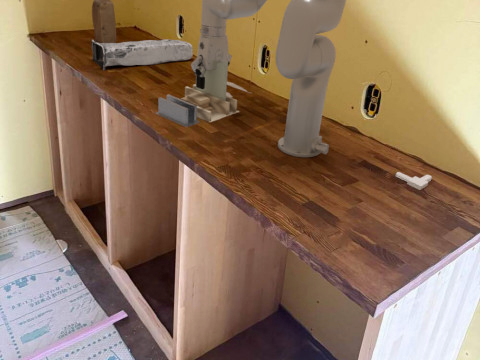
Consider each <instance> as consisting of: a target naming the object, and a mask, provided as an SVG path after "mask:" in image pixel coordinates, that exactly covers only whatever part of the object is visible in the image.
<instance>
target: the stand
mask: <svg viewBox="0 0 480 360" xmlns="http://www.w3.org/2000/svg"><path fill="white" fill-rule="evenodd" d="M166 95H167V97H166V98H163V97H161V96H160V97H158V98H157V99H158V103H157V104H158V107H157V108H158V111H157V112H156V111H155V113H154V114H156V115H158V116H159V117H162V118H165V119H166V120H169V121H171V122H174V123H175V124H177V125H178V124H179V125H180V126H182V127H185V128H188V127H191V126H194V125H196V124H199V123H200V120H197V118H198V117H197V106H196V105H194V104H191V103H189V102H186V101H184V100H181V98H179V97H176V96H173V95H172V94H166Z"/></svg>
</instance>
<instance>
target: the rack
mask: <svg viewBox="0 0 480 360" xmlns="http://www.w3.org/2000/svg"><path fill="white" fill-rule="evenodd" d="M194 93H198V94H200V95H203V96H206V97H208V98H210V103H209V105H208V106H209V107H212V108H213V112H212V113H211V111H208V110H206V109H203V108H201V107H198V106H197V118H199V119H200V120H203V121H206V122H208V123H212V122H216V121H218V120H221V119H223V118H225V117H229V116H232V115H234V114H237V113H240V112H241V111H240V110H237V109H238V100H237V99H235V98H233V97H231V98H230V97H228V96H226V101H224V100H222V99H219V98H216V97H214V96H211V95H209V94H206V93H203V92H201V91H198V90H196V83H195V84H192V87H189V86H185V87H184V97H187V95H191V94H194ZM167 95H168V94H166V98H167Z"/></svg>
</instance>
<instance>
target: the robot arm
mask: <svg viewBox="0 0 480 360" xmlns="http://www.w3.org/2000/svg"><path fill="white" fill-rule="evenodd" d="M267 1H268V0H201V23H200V24H201V25H200V29H199V32H200V36H199V40H198V45H197V53H196V59H194V60H193V61H192V62H191V64H190V66H191V69H192V72H193V73H194V75H195V76H196V77H195V85H196V87H197V88H200V89H204V88H205V77H204V74H205V73H206V71H207V70H208V71H211V70H215V69H217V62H223V63H227V64H228V67H229V66H230V64H231V63H230V62H231V59H232V57H233V56H232V55H231V54H230V53H229V40H228V39H229V38H228V35H227V33H226V32H227V20H235V19H241V18H248V17H251V16H254V15H255V14H257V13H258V12H259V11H260V10H261V9H262V7H263V6H264V5H265V3H267ZM346 2H347V0H290V1H289V3H288V4H287V6H286V7H285V9H284V10H285V11H284V13H283V17H282V21H281V25H280V31H279V35H278V41H277V45H276V50H275V65H276V68H277V71H278V73H280V75H281V76H282V77H283V78H286V79H288V80H292V82H291V86H290V89H289V90H290V91H289V99H288V106H287V113H286V114H287V115H286V120H285V121H286V123H285V127H284V128H285V131H284V136H282V137H280V139H279V140H278V141H277V147H278V149H279V150H280V151H281V152H283V153H285V154H287V155H288V156H292V157H295V158H296V157H298V158H312V157H316V156H319V154H323V155H327V153H328V152H329V147H330V146H329V144H328V143H326V142H323V141H322V138H323V136H322V135H320V129H321V124H322V118H323V112H324V106H325V102H326V101H325V100H326V95H327V90H328V85H329V80H330V77H331V74H332V71H333V69H334V66H335V62H336V57H337V52H336V47H335V44H334V42H333V41H332V40H331V38H328V37H327V36H326V35H322V34H323V33H327V32H332V31H333V30H335V29H336V28H337V27H338V26H339V25H340V22H341V19H342V17H343V13H344V9H345V5H346ZM197 66H198V67H197ZM201 69H203V70H202V72H201Z"/></svg>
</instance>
